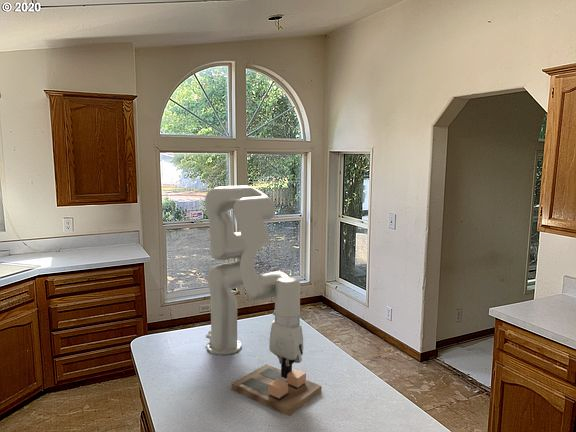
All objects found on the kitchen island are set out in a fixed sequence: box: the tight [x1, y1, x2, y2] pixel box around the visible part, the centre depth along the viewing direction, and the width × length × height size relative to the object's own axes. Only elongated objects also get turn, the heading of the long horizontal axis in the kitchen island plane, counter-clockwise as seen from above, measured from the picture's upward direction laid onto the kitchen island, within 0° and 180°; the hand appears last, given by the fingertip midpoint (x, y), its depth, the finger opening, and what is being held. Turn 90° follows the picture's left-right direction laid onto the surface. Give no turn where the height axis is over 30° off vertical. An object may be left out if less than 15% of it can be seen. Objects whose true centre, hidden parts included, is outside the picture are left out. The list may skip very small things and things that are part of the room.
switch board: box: [230, 364, 322, 417], centre depth 130 cm, size 22×16×2 cm
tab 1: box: [268, 378, 288, 398], centre depth 124 cm, size 4×4×3 cm
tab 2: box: [287, 368, 307, 387], centre depth 130 cm, size 4×4×3 cm
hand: (286, 375), depth 133 cm, fingers closed
